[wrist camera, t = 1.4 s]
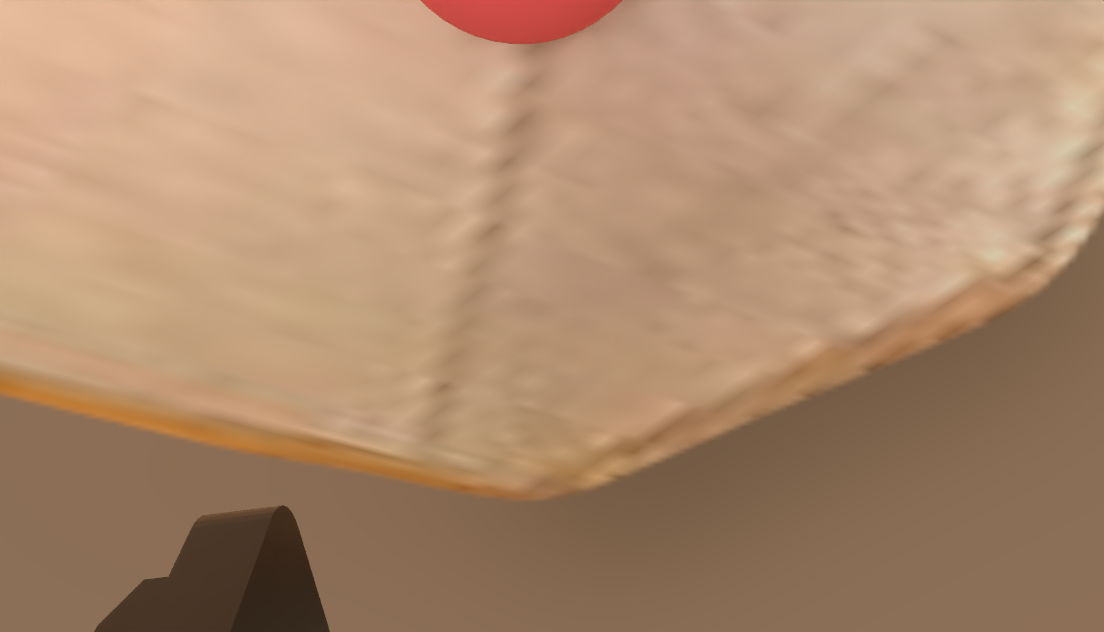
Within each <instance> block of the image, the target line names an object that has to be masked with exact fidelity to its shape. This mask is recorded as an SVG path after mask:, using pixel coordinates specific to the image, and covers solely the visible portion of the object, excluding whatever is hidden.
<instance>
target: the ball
mask: <svg viewBox="0 0 1104 632" xmlns="http://www.w3.org/2000/svg"><path fill="white" fill-rule="evenodd" d="M421 1H422V2H423V3H424V4H425V5H426V6H427V7H428V8H429V9H430V10H432V11H433V12H434V13H436V14H437V15H438V16H439V17H441V18H442V19H443V20H445V21H447V22H448V23H450V24H452V25H453V26H455V27H457V28H458V29H460V30H463V31H465V32H467V33H470V34H472V35H474V36H477V37H481V38H484V39H488V40H491V41H496V42H503V43H510V44H532V43H540V42H548V41H551V40H555V39H559V38H563V37H566V36H568V35H571V34H573V33H576V32H578V31H580V30H583V29H584V28H586V27H588V26H590V25H591V24H593V23H595V22H597V21H598V20H599V19H601V18H602V17H603V16H605V15H606V14H607V13H609V12H610V11H611V10H613V9H614V8H615V7H616V6H617V5H618V4H619V3H620V2H621V1H622V0H421Z"/></svg>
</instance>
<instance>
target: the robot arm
mask: <svg viewBox="0 0 1104 632" xmlns="http://www.w3.org/2000/svg"><path fill="white" fill-rule="evenodd" d="M94 632H330V631H329V628H328V624H327V621H326V617H325V614H324V611H323V608H322V604H321V601H320V598H319V594H318V591H317V588H316V585H315V581H314V578H313V574H312V571H311V569H310V565H309V561H308V558H307V555H306V551H305V548H304V545H303V541H302V538H301V535H300V531H299V528H298V525H297V523H296V520H295V518H294V516H293V514H292V512H291V511H290V510H289V508H288V507H286V506H276V507H269V508H268V507H267V508H259V509H251V510H243V511H235V512H227V513H220V514H211V515H203V516H201V517H200V518H198V519H197V521H196V522H195V523H194V525H193V527H192V529H191V531H190V533H189V535H188V537H187V539H186V541H185V543H184V545H183V547H182V549H181V552H180V554H179V556H178V558H177V560H176V562H175V564H174V567H173V568H172V570H171V573H170V575H169V577H163V578H154V579H146V580H143V581H142V582H141V583H140V584H139V585H138V586H137V587H136V588H135V589H134V590H133V591H132V592H131V593H130V594H129V595H128V596H127V597H126V598H125V599H124V600H123V601H122V602H121V603H120V604H119V605H118V606H117V607H116V608H115V609H114V610H113V611H112V612H111V613H110V614H109V615H108V616H107V617H106V618H105V619H104V620H103V621H102V622H101V623H100V624H99V625H98V626H97V628H96V630H95V631H94Z"/></svg>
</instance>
